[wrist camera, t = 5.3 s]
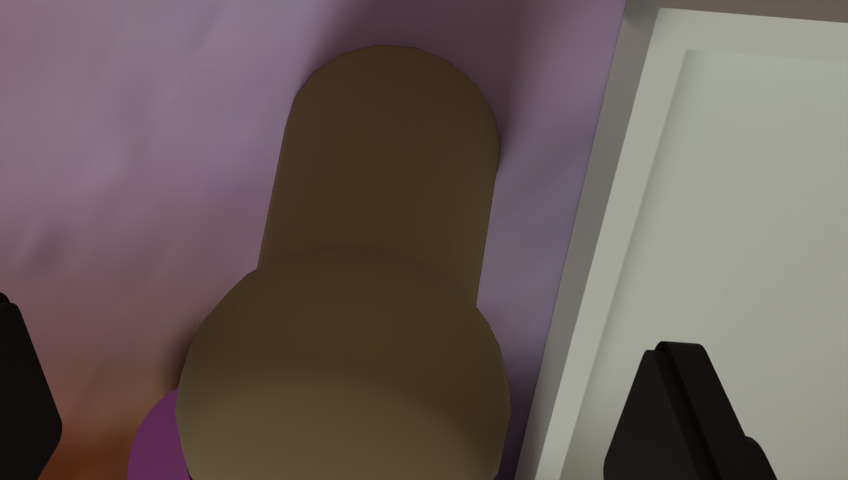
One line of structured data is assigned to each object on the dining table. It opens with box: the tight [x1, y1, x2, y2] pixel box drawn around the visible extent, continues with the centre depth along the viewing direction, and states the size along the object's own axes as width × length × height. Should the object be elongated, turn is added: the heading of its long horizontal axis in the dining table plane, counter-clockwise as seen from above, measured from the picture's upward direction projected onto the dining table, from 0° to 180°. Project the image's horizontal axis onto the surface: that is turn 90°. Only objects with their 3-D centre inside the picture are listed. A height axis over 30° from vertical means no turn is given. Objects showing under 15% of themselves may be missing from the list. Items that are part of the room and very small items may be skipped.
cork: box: [175, 45, 512, 480], centre depth 14 cm, size 6×6×11 cm
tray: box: [514, 0, 848, 480], centre depth 20 cm, size 20×15×2 cm
